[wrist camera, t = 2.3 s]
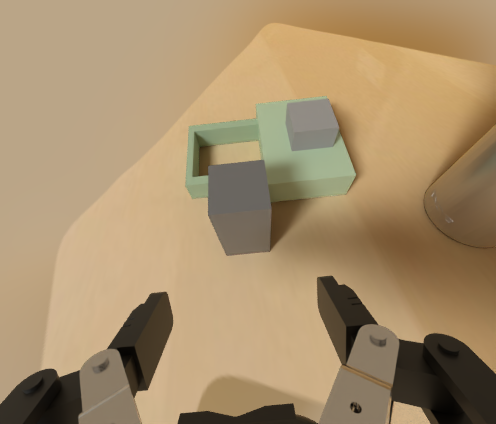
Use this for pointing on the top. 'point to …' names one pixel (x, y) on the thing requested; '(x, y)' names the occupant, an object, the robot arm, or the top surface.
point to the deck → (283, 149)
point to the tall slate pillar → (240, 206)
